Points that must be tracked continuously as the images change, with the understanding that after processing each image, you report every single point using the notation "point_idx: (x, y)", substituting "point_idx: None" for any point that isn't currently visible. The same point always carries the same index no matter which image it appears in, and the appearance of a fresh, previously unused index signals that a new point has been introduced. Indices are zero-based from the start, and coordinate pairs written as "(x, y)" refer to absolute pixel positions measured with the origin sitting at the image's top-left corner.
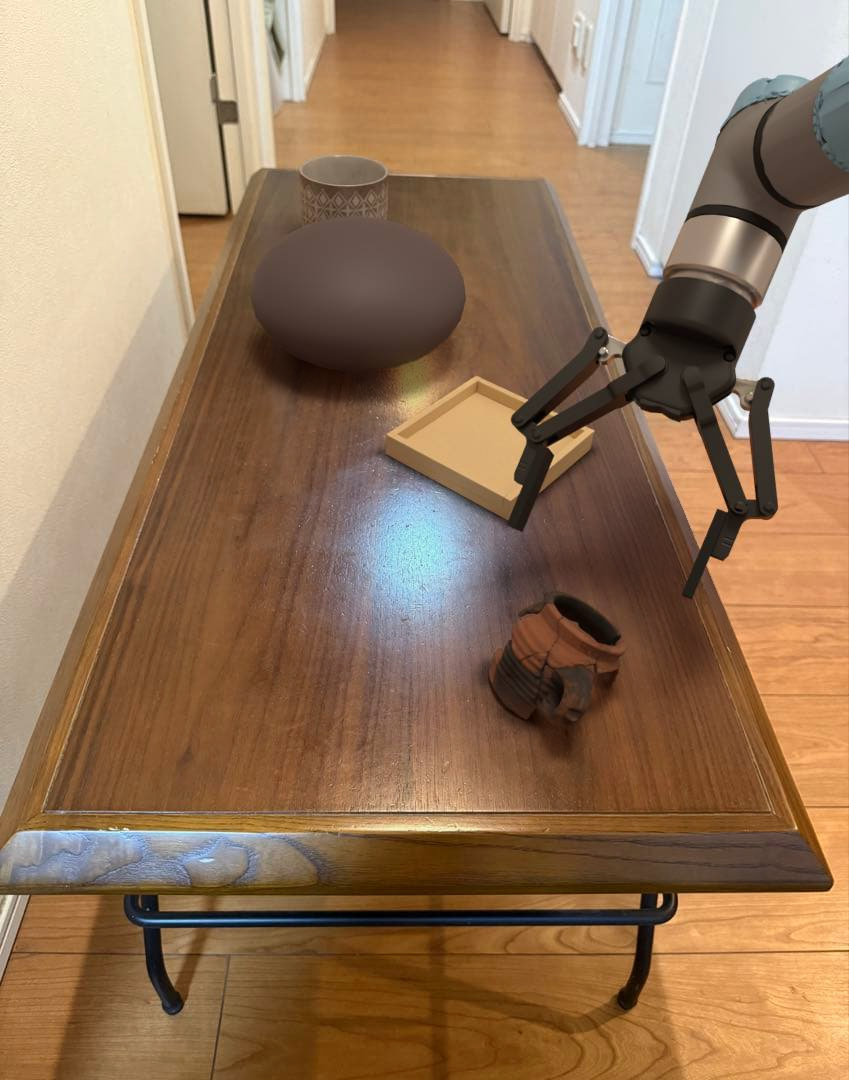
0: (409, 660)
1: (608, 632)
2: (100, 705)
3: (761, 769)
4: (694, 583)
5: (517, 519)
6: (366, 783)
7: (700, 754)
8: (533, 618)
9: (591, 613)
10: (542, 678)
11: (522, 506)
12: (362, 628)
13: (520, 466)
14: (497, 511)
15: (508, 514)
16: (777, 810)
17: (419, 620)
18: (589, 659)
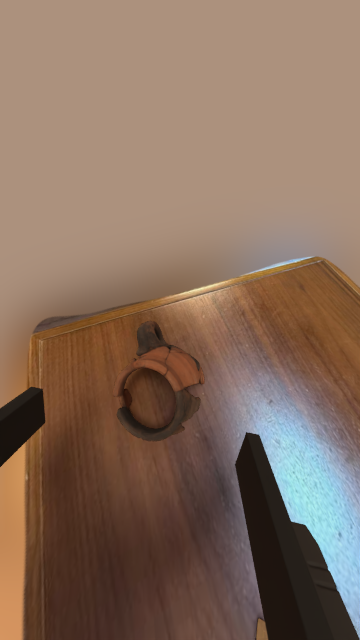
0: (249, 368)
1: (127, 414)
2: (352, 296)
3: (37, 364)
4: (18, 399)
5: (251, 443)
6: (231, 298)
7: (73, 362)
8: (187, 380)
9: (142, 428)
10: (169, 346)
11: (258, 463)
12: (288, 383)
13: (322, 570)
14: None
15: (262, 627)
16: (37, 342)
17: (261, 405)
18: (140, 359)
